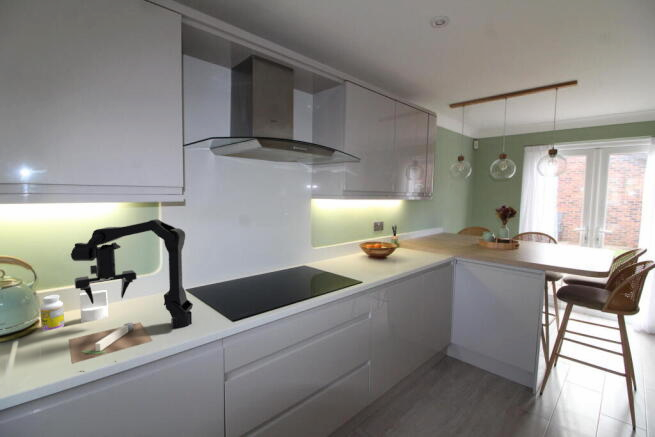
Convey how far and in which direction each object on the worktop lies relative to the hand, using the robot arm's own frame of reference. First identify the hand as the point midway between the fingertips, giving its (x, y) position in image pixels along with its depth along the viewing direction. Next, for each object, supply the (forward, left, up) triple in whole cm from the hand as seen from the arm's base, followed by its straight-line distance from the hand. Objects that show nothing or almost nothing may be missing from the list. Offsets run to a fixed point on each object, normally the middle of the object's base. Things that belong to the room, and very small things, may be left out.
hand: (107, 300), depth 117 cm
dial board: (+1, +13, -12) cm, 18 cm away
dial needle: (0, +14, -10) cm, 17 cm away
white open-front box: (+3, -15, -12) cm, 20 cm away
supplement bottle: (+16, -16, -12) cm, 26 cm away
